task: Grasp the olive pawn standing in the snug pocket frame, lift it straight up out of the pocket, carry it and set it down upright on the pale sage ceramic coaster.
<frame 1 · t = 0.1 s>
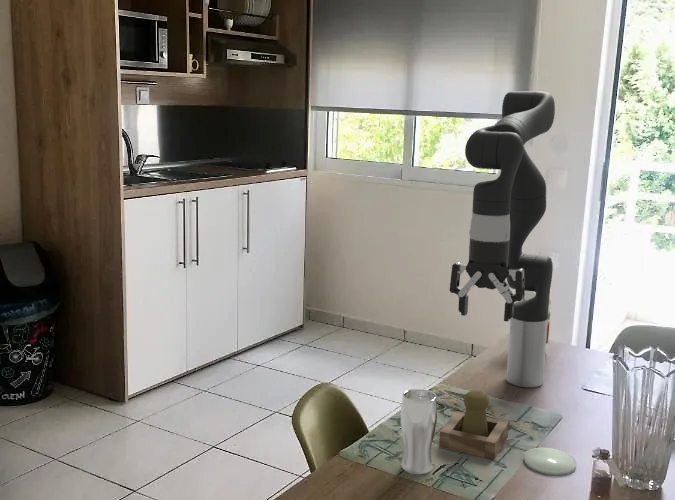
hand: (485, 317, 146), 29 cm above the table, tool pointing down, fingers open, 8 cm apart
olive pawn: (474, 442, 157), resting in pocket frame
juice carton: (531, 353, 213), on the table
pocket frame: (474, 441, 157), on the table
coaster: (549, 462, 148), on the table
beer glass: (416, 468, 145), on the table
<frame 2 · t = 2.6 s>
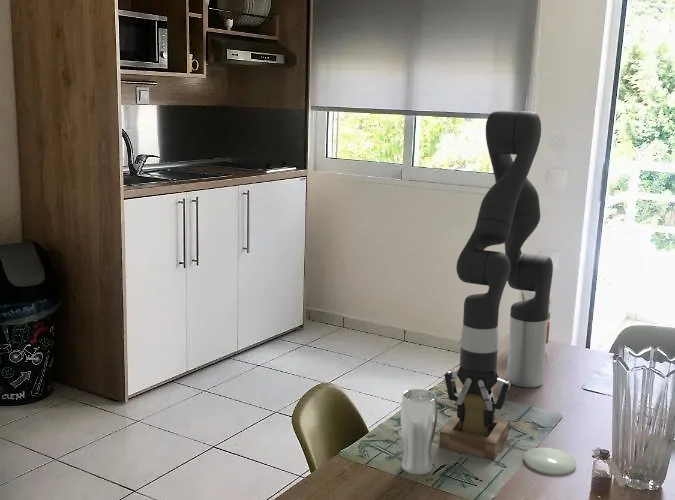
hand: (475, 422, 156), 4 cm above the table, tool pointing down, fingers closed on olive pawn, 5 cm apart
olive pawn: (474, 442, 157), resting in pocket frame, touching gripper
everything else where it was.
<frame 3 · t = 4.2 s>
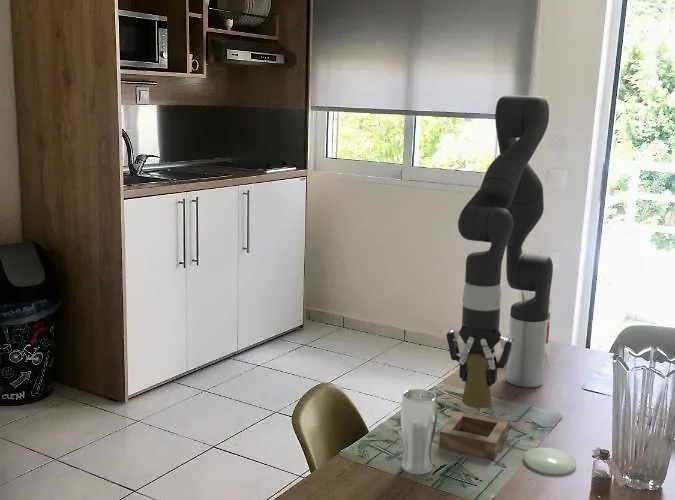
hand: (477, 382, 154), 13 cm above the table, tool pointing down, fingers closed on olive pawn, 5 cm apart
olive pawn: (476, 403, 155), point 9 cm above the table, touching gripper
everything else where it was.
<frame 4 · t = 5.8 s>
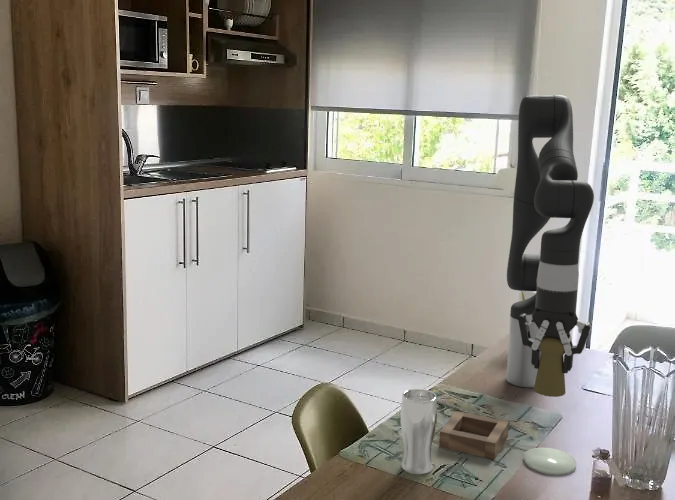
hand: (551, 369, 144), 20 cm above the table, tool pointing down, fingers closed on olive pawn, 5 cm apart
olive pawn: (549, 391, 145), point 15 cm above the table, touching gripper
everything else where it was.
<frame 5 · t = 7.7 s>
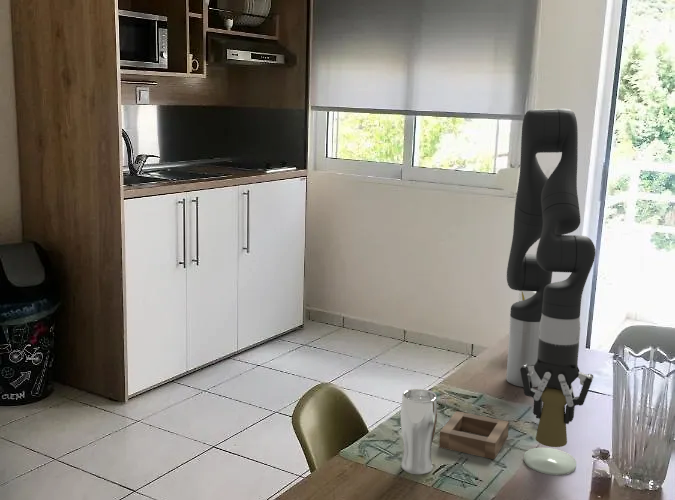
hand: (552, 419, 146), 9 cm above the table, tool pointing down, fingers closed on olive pawn, 5 cm apart
olive pawn: (551, 441, 147), point 5 cm above the table, touching gripper
everything else where it was.
when the fingers open (6 cm above the table, at t = 9.2 s): olive pawn stays where it is, resting on coaster.
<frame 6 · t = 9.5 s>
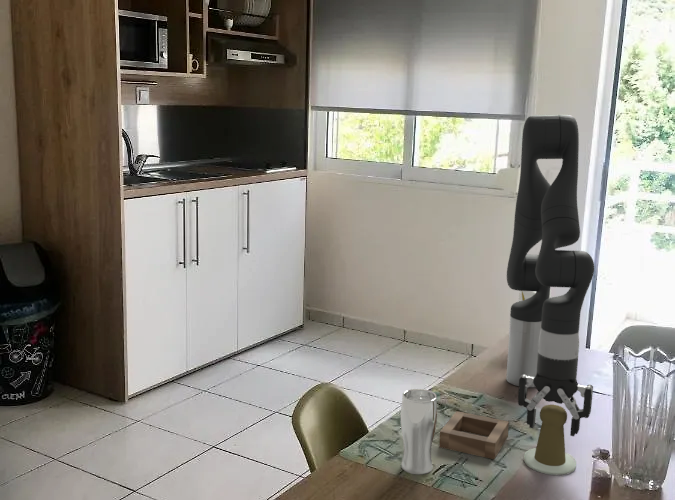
hand: (552, 430, 147), 7 cm above the table, tool pointing down, fingers open, 7 cm apart
olive pawn: (549, 459, 148), point 1 cm above the table, touching coaster
everything else where it was.
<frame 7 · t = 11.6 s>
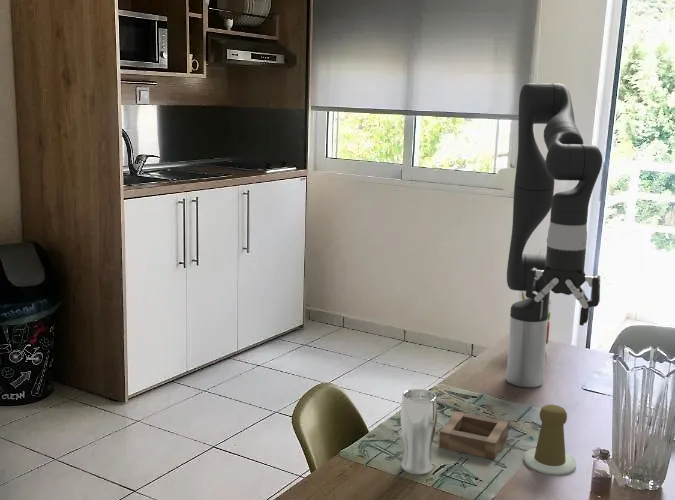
hand: (560, 321, 152), 27 cm above the table, tool pointing down, fingers open, 8 cm apart
nothing on the table moved.
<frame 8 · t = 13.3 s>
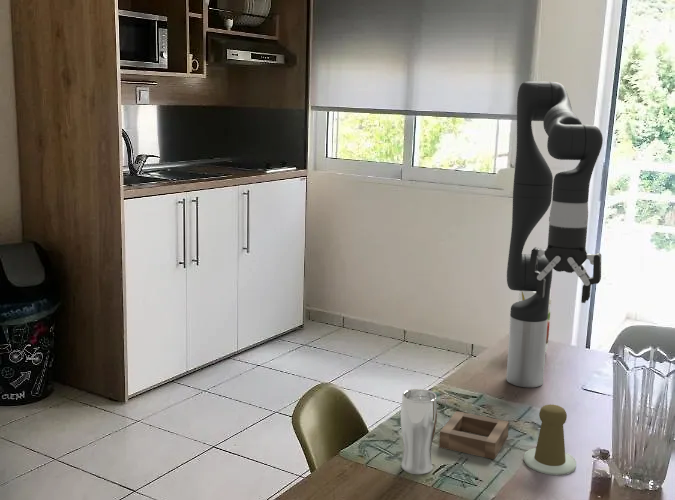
hand: (562, 299, 155), 30 cm above the table, tool pointing down, fingers open, 8 cm apart
nothing on the table moved.
at the end: olive pawn 0.1 cm from the coaster (horizontally); olive pawn tilted 0°; the gripper is holding nothing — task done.
